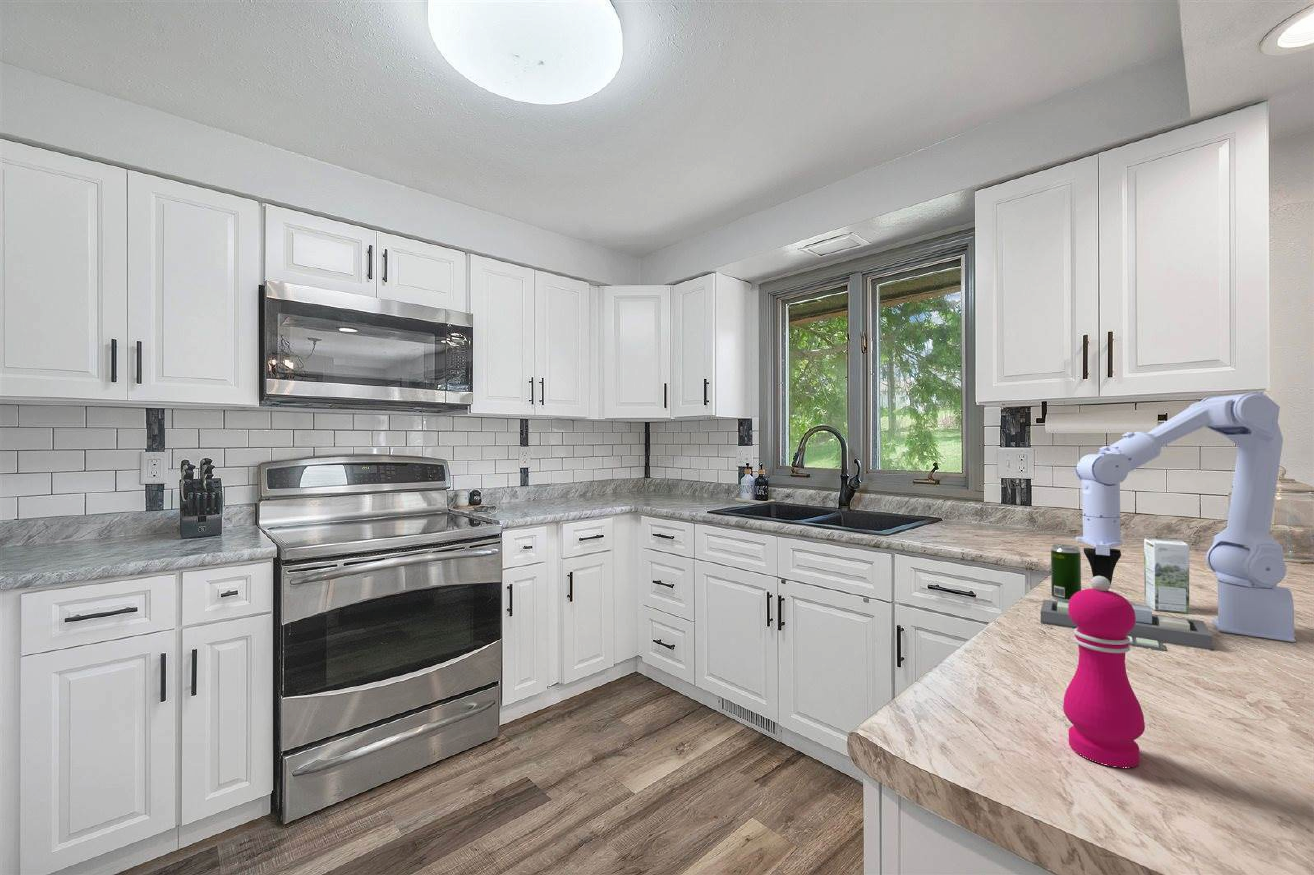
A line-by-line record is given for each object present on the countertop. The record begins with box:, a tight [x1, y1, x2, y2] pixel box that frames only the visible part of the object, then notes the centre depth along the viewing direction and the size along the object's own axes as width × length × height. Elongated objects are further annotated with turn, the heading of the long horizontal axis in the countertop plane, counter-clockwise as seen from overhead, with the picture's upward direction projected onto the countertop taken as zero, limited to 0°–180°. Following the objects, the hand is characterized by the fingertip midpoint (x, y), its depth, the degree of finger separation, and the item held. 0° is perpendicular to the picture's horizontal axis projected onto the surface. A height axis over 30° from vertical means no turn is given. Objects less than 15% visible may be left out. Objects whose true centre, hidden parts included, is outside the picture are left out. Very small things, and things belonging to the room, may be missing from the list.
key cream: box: [1156, 614, 1190, 630], centre depth 100 cm, size 4×4×2 cm
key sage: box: [1057, 601, 1069, 613], centre depth 110 cm, size 4×4×2 cm
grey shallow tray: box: [1040, 599, 1214, 651], centre depth 105 cm, size 24×10×2 cm, turn 52°
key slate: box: [1130, 603, 1153, 624], centre depth 104 cm, size 4×4×2 cm
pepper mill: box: [1062, 576, 1146, 769], centre depth 63 cm, size 7×7×20 cm
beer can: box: [1050, 543, 1082, 603], centre depth 125 cm, size 5×5×12 cm
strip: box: [1128, 636, 1166, 652], centre depth 98 cm, size 11×4×1 cm, turn 52°
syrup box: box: [1143, 538, 1190, 614], centre depth 117 cm, size 6×6×14 cm
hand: (1102, 587), depth 107 cm, fingers closed
